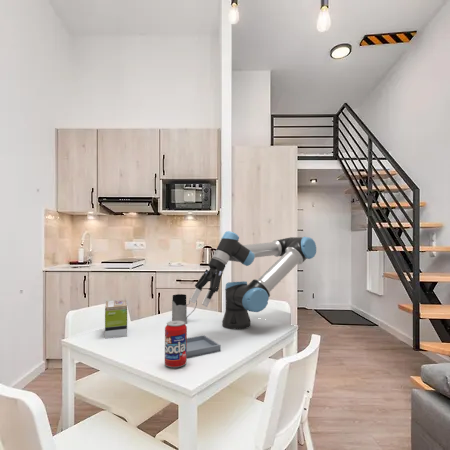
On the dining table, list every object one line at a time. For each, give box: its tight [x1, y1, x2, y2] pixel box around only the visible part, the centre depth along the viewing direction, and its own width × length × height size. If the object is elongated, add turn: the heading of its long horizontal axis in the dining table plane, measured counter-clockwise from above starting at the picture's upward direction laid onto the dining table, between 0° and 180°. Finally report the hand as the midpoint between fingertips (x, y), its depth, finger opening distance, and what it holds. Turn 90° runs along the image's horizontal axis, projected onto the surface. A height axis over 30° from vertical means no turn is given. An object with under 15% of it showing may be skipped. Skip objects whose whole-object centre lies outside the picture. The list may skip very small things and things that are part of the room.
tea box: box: [104, 299, 128, 339], centre depth 145 cm, size 15×10×15 cm, turn 21°
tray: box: [187, 334, 222, 359], centre depth 124 cm, size 15×15×2 cm
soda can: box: [164, 320, 188, 369], centre depth 108 cm, size 8×8×15 cm
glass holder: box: [171, 293, 198, 325], centre depth 164 cm, size 9×14×15 cm, turn 107°
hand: (197, 303), depth 132 cm, fingers open, 13 cm apart
